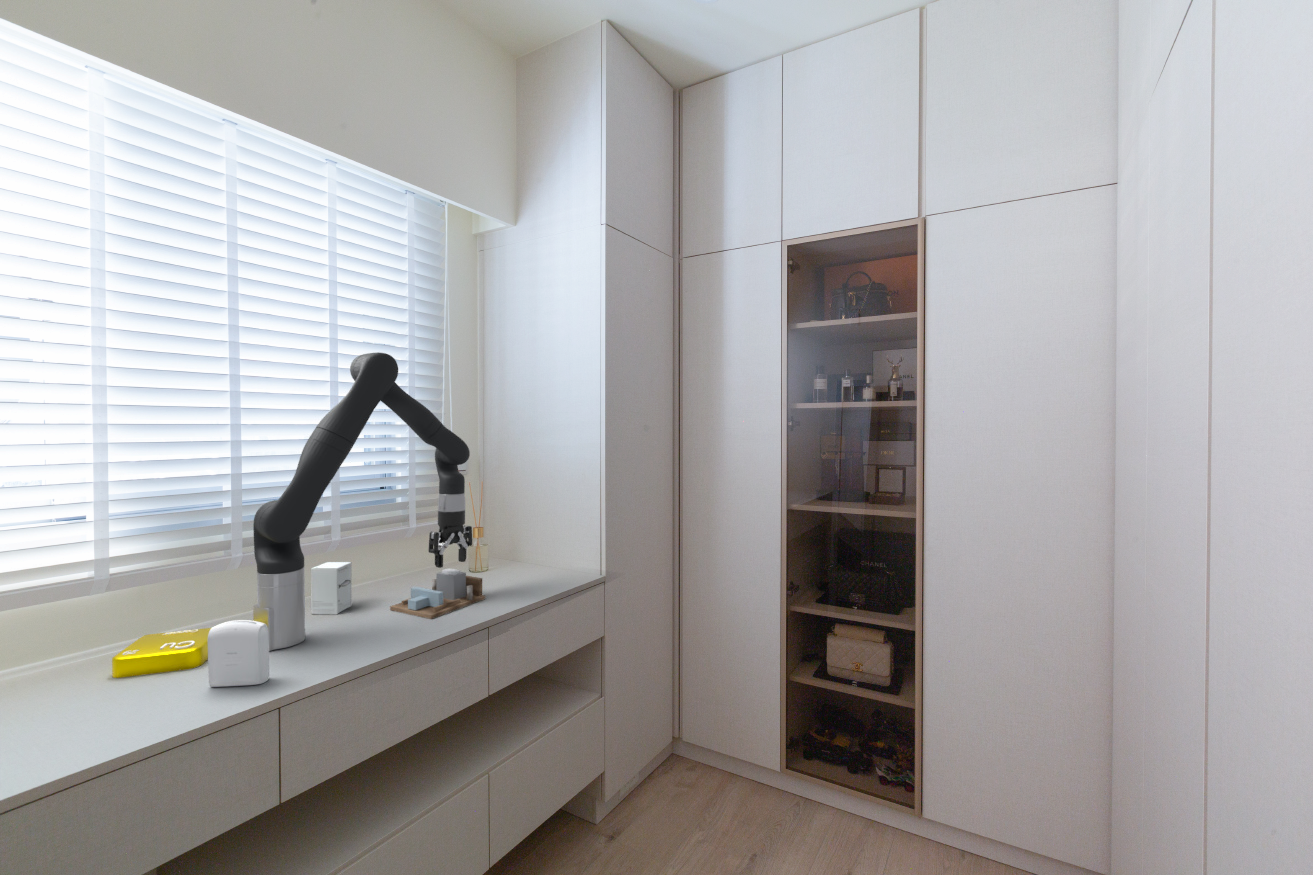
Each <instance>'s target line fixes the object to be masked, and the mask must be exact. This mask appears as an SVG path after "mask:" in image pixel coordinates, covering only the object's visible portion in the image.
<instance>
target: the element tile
mask: <svg viewBox="0 0 1313 875" xmlns="http://www.w3.org/2000/svg"><path fill="white" fill-rule="evenodd" d="M211 628H212V627H206V628H205V627H204V628H195V629H185V630H177V631H166V632H158V633H150V634H144V635H142V636H140V638H138V639H136V640H135V641H133V642H132V643H131V644H129V645H128V646H127V647H125V648H123V650H121V651H120V652H118V653H116V655H114V656H112V657H111V670H112V671H111V673H112V674H111V676H112V678H114V679H122V678H128V677H138V676H143V675H144V676H145V675H147V676H148V675H153V674H162V673H171V672H178V671H184V670H185V671H187V670H192V669H195V668H199V667H201V666H203V664H205V663H206V662H208V634H209V631H210V629H211Z"/></svg>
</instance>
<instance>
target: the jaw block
mask: <svg viewBox="0 0 1313 875" xmlns="http://www.w3.org/2000/svg"><path fill="white" fill-rule="evenodd" d="M435 574H436V578H435V579H436V588H437V591H441V592H443V598H444V599H449V600H456V599H460V598H463V597H466V576H467V572H465V571H461V569H456V568H451V567H450V568H449V567H448V568H445V569H441V571H439V572H436V573H435Z"/></svg>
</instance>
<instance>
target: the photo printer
mask: <svg viewBox="0 0 1313 875" xmlns="http://www.w3.org/2000/svg"><path fill="white" fill-rule="evenodd" d="M210 628H211V629H210V631H209V634H208V660H207V665H208V666H207V669H208V686H209V687H210V688H211V687H212V688H214V687H219V688H220V687H238V686H253V685H261V684H264V683H266V682H267V681H268V680H269V679H270V651H269V637H268V627H267V625H266V624H264V623H261V622H257V621H253V620H251V619H250V620H249V619H234V620H228V621H225V622H222V623H219V624H217V625H215V626H213V627H210Z"/></svg>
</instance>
